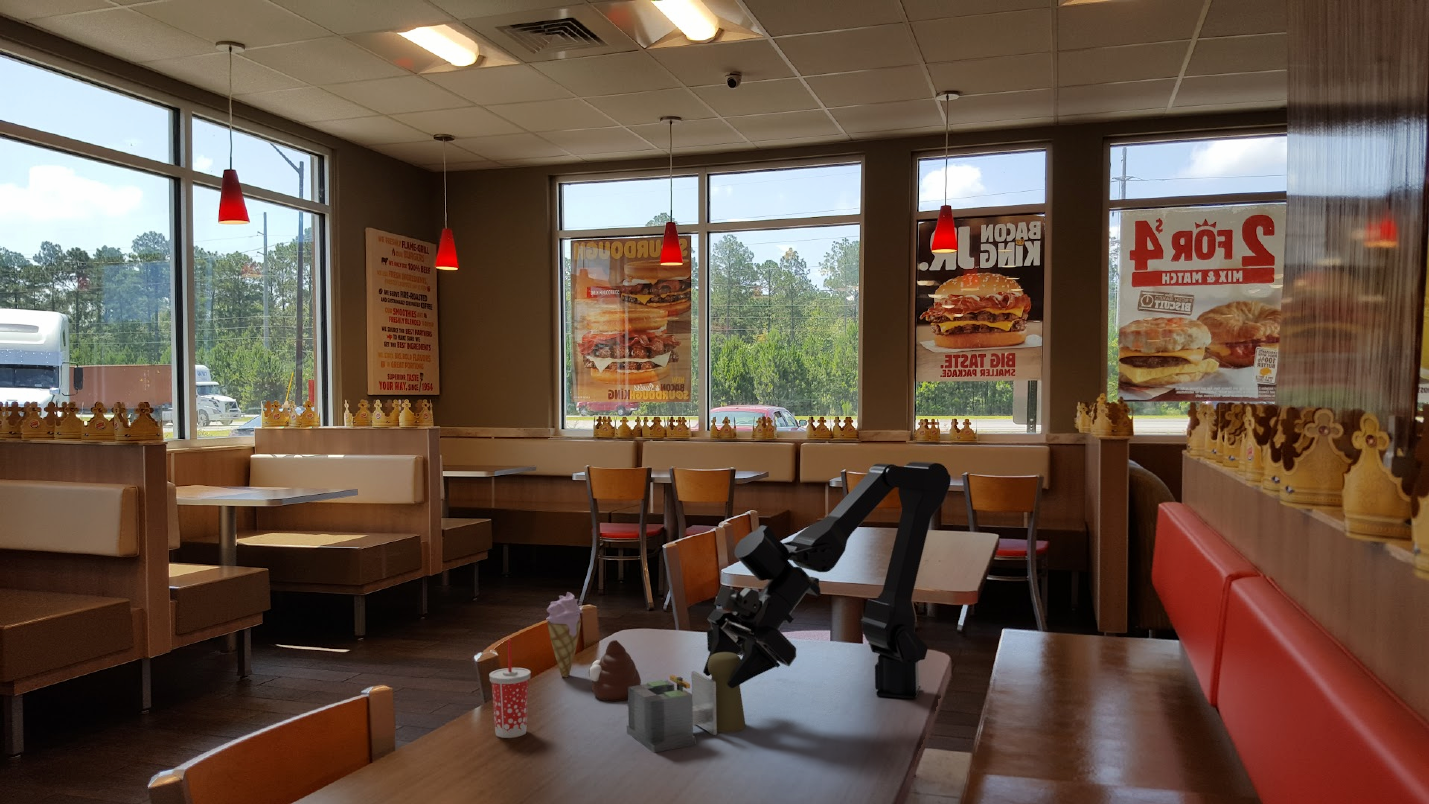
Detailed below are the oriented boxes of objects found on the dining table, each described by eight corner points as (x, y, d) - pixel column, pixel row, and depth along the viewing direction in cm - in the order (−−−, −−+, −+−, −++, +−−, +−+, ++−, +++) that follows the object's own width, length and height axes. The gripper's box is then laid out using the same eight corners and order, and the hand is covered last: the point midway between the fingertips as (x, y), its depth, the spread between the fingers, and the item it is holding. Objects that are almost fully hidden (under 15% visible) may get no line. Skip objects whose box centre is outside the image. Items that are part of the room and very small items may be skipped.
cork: (741, 733, 147) (740, 659, 147) (702, 731, 148) (701, 657, 148) (748, 720, 153) (747, 649, 153) (710, 718, 154) (709, 648, 154)
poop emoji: (638, 702, 164) (637, 645, 164) (586, 702, 164) (585, 646, 164) (643, 685, 174) (642, 631, 174) (594, 685, 174) (593, 632, 174)
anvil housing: (666, 725, 151) (665, 678, 151) (695, 744, 142) (694, 694, 142) (626, 732, 148) (625, 684, 148) (654, 752, 139) (653, 701, 139)
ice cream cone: (591, 674, 180) (590, 592, 180) (568, 683, 175) (567, 598, 175) (563, 669, 184) (562, 589, 184) (540, 677, 179) (539, 594, 179)
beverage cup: (539, 728, 151) (537, 636, 151) (518, 741, 145) (516, 645, 145) (503, 724, 153) (502, 633, 153) (482, 737, 147) (480, 643, 147)
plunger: (695, 721, 152) (694, 668, 152) (716, 734, 146) (715, 679, 146) (668, 726, 150) (667, 672, 150) (689, 739, 144) (688, 683, 144)
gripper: (717, 558, 161) (656, 635, 155) (777, 575, 144) (711, 661, 139) (759, 601, 164) (701, 678, 159) (823, 623, 148) (761, 708, 143)
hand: (717, 680), depth 150 cm, fingers open, 7 cm apart
